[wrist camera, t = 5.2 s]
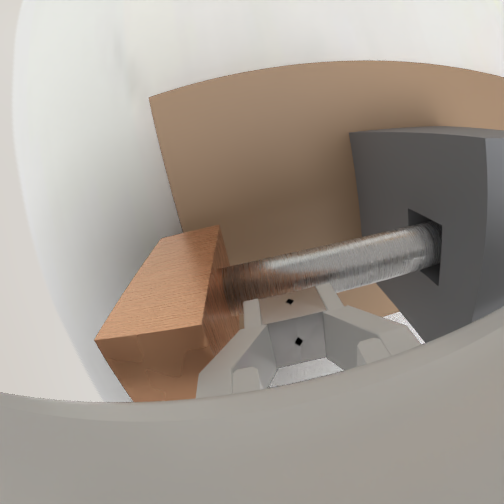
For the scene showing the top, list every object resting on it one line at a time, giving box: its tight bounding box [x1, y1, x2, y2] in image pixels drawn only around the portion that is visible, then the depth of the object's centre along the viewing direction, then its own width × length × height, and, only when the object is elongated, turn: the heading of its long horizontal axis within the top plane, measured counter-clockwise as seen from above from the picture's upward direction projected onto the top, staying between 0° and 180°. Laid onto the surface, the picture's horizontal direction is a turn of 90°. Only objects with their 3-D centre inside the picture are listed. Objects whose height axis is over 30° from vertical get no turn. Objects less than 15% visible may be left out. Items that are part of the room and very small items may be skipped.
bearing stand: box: [149, 61, 504, 343], centre depth 14 cm, size 20×32×13 cm, turn 102°
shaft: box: [94, 221, 442, 402], centre depth 11 cm, size 4×24×8 cm, turn 102°
